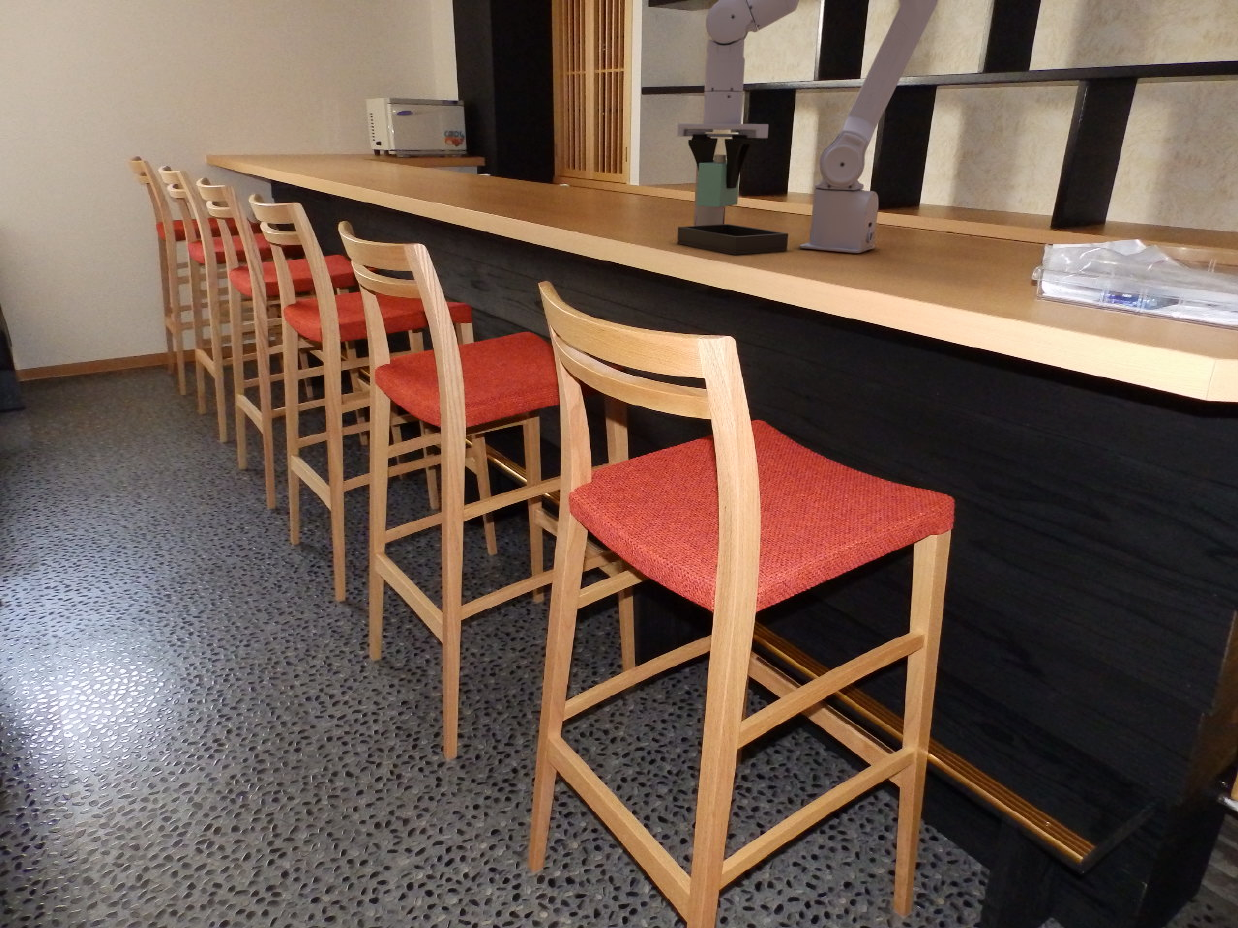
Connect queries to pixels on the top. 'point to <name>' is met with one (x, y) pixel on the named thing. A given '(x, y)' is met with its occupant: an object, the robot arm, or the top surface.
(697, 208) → the energy drink
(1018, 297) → the top surface
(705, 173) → the detergent bottle
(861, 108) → the robot arm
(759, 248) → the tray
